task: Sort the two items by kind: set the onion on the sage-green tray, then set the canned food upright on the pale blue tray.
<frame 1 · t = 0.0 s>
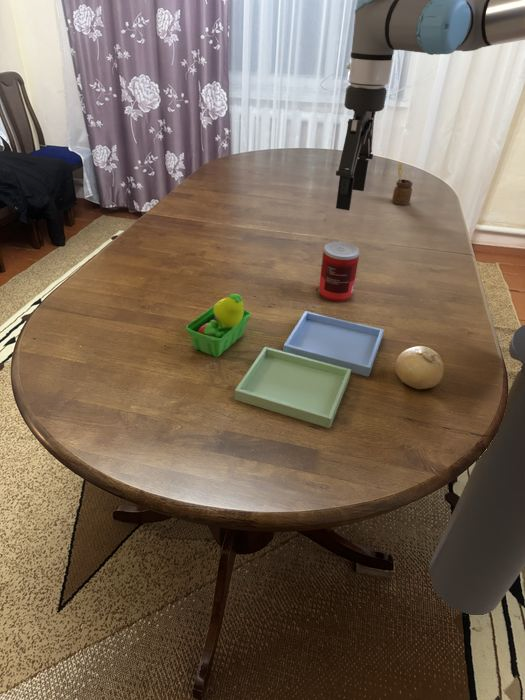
hand: (350, 199, 99), 20 cm above the table, tool pointing down, fingers open, 13 cm apart
onion: (415, 381, 82), on the table
canned food: (335, 294, 106), on the table
utensil holder: (399, 202, 159), on the table
blue tray: (333, 346, 90), on the table
fruit basket: (222, 343, 90), on the table
green tray: (294, 388, 79), on the table
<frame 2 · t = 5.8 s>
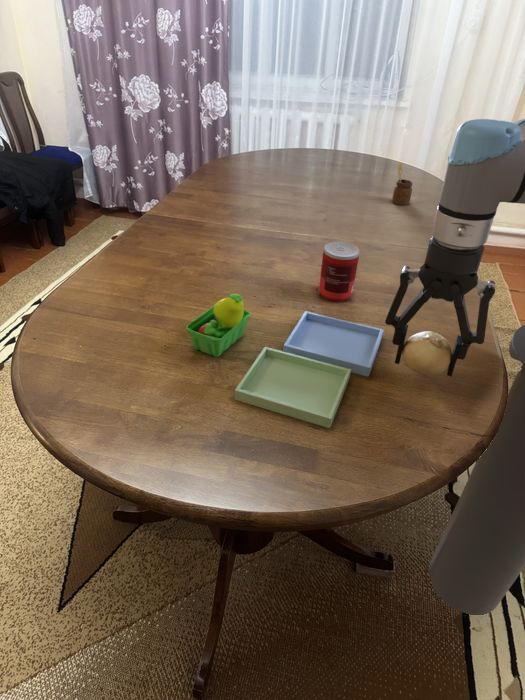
hand: (423, 365, 80), 3 cm above the table, tool pointing down, fingers closed on onion, 8 cm apart
onion: (422, 367, 80), point 3 cm above the table, touching gripper
everything else where it was.
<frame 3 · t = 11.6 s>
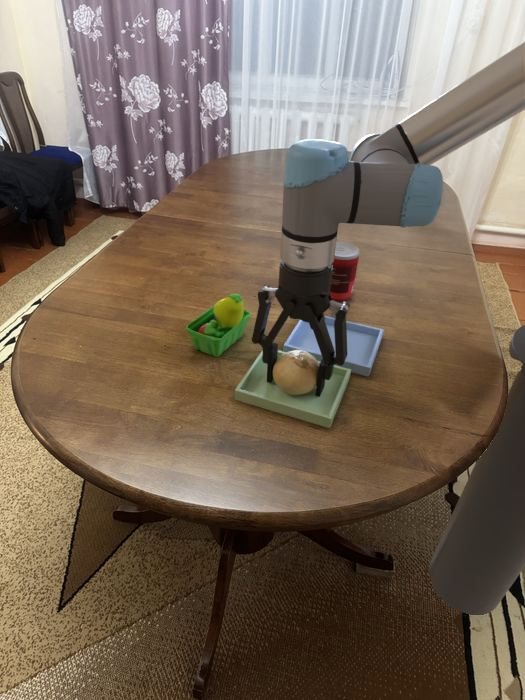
hand: (295, 384, 79), 1 cm above the table, tool pointing down, fingers closed on onion, 8 cm apart
onion: (295, 386, 79), point 1 cm above the table, touching gripper
everything else where it was.
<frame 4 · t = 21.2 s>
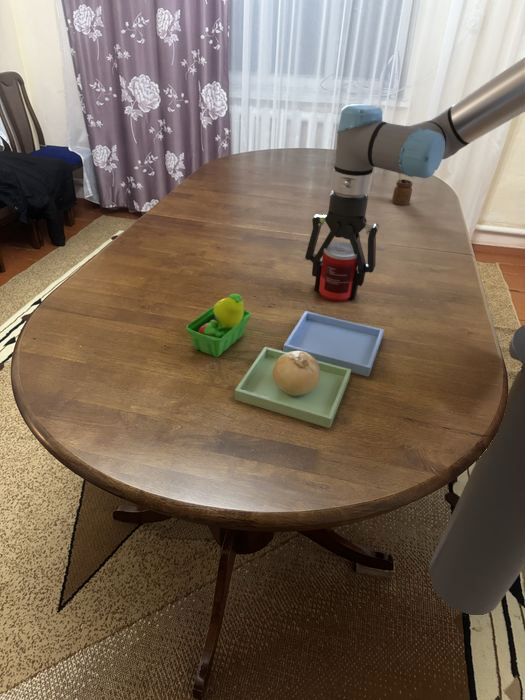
hand: (335, 292, 106), 0 cm above the table, tool pointing down, fingers closed on canned food, 8 cm apart
onion: (295, 387, 79), resting on green tray
canned food: (335, 294, 106), on the table, touching gripper
everything else where it was.
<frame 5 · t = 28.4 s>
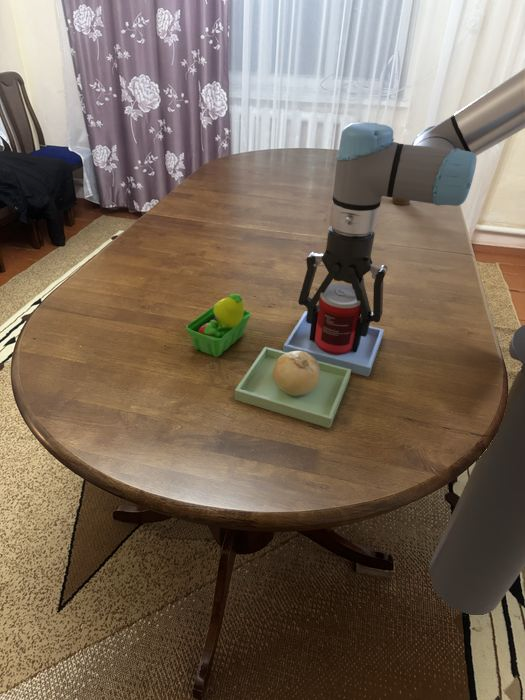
hand: (334, 342, 89), 1 cm above the table, tool pointing down, fingers closed on canned food, 8 cm apart
canned food: (334, 344, 90), resting on blue tray, touching gripper
everything else where it was.
when the fingers open (1 cm above the table, at t = 28.5 s): canned food stays where it is, resting on blue tray.
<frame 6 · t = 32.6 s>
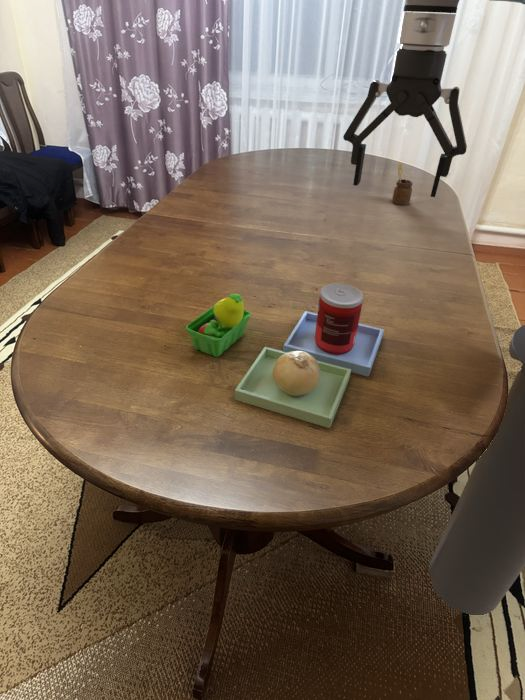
hand: (394, 189, 83), 27 cm above the table, tool pointing down, fingers open, 13 cm apart
canned food: (333, 344, 90), resting on blue tray
everything else where it was.
at the end: onion inside the target area in the green tray (0.1 cm from its centre), point 0.4 cm above the green tray's base; canned food inside the target area in the blue tray (0.0 cm from its centre), point 0.4 cm above the blue tray's base; canned food tilted 0° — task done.
